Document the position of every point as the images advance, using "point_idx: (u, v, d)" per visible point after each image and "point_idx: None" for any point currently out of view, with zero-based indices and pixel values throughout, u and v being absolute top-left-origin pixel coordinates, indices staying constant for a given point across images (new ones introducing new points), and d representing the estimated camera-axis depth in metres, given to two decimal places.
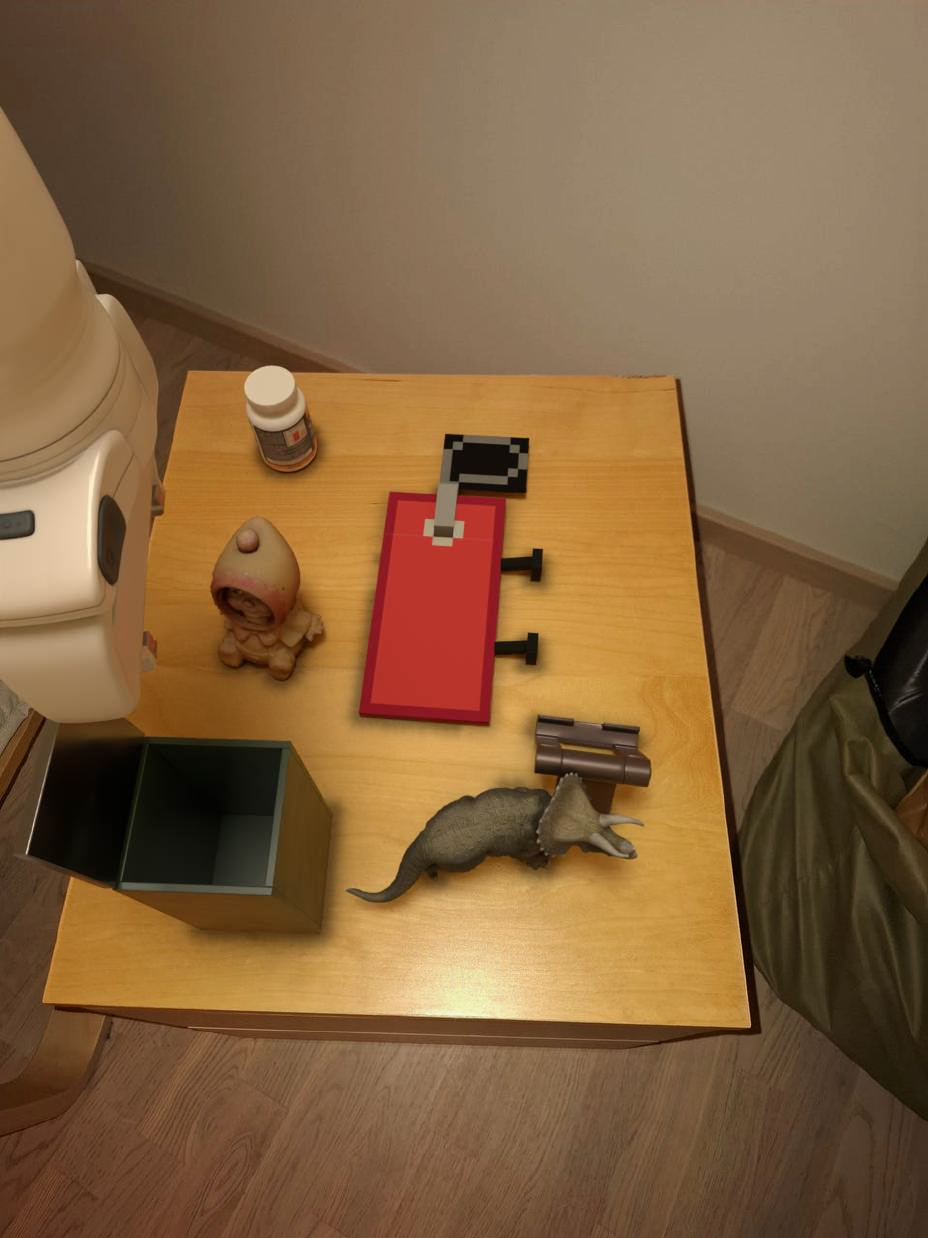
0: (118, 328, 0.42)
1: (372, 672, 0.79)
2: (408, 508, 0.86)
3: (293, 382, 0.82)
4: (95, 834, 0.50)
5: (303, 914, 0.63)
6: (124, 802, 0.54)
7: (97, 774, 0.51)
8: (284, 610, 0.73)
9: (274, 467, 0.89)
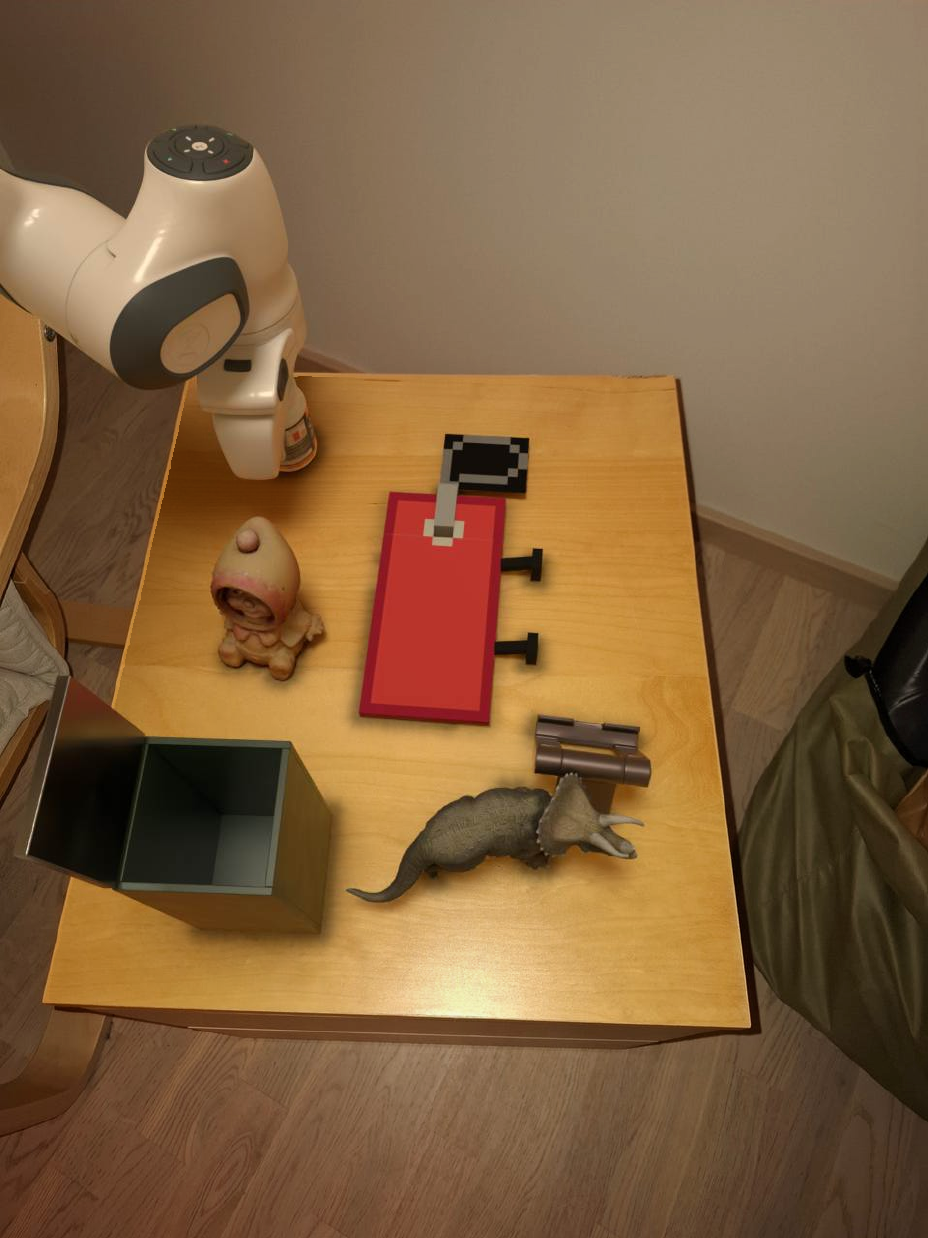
0: None
1: (372, 672, 0.79)
2: (408, 509, 0.86)
3: (293, 382, 0.82)
4: (95, 834, 0.50)
5: (303, 914, 0.63)
6: (124, 802, 0.54)
7: (97, 774, 0.51)
8: (284, 610, 0.73)
9: None
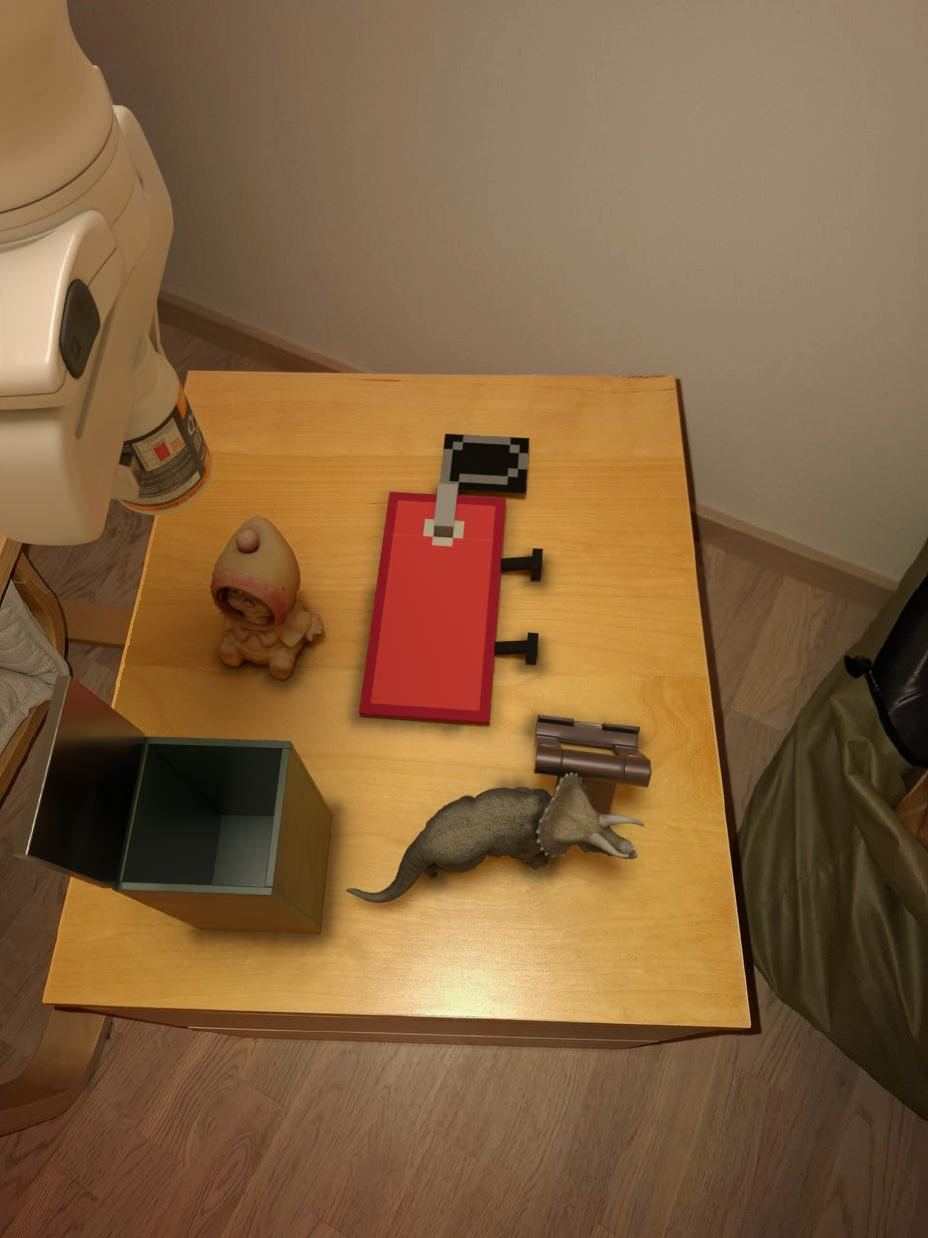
0: (130, 142, 0.40)
1: (372, 672, 0.79)
2: (408, 509, 0.86)
3: (146, 346, 0.41)
4: (95, 834, 0.50)
5: (303, 914, 0.63)
6: (124, 802, 0.54)
7: (97, 774, 0.51)
8: (284, 610, 0.73)
9: (131, 507, 0.48)
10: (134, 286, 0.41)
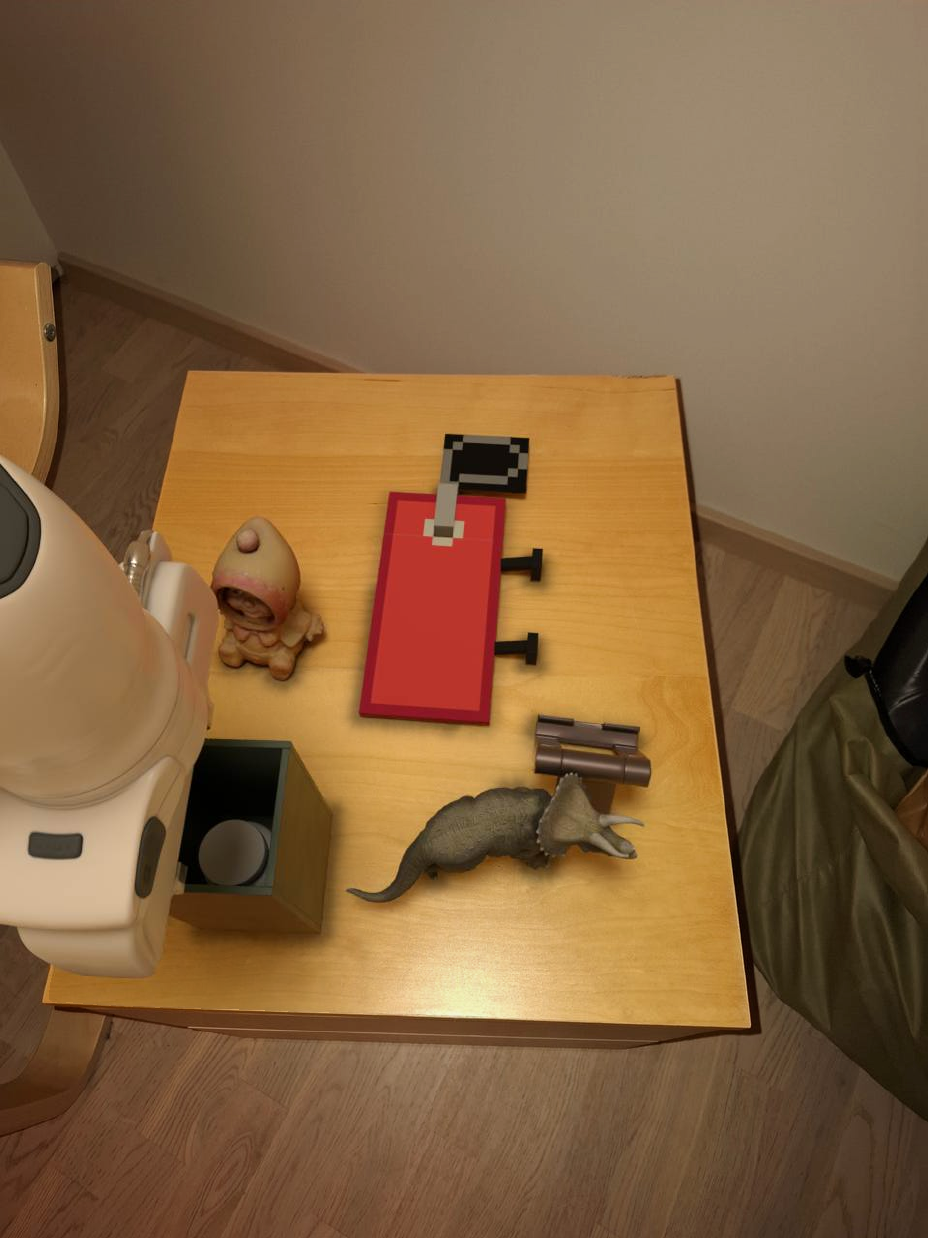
0: (185, 597, 0.45)
1: (372, 672, 0.79)
2: (408, 509, 0.86)
3: (262, 851, 0.63)
4: None
5: (303, 914, 0.63)
6: None
7: None
8: (284, 610, 0.73)
9: None
10: None
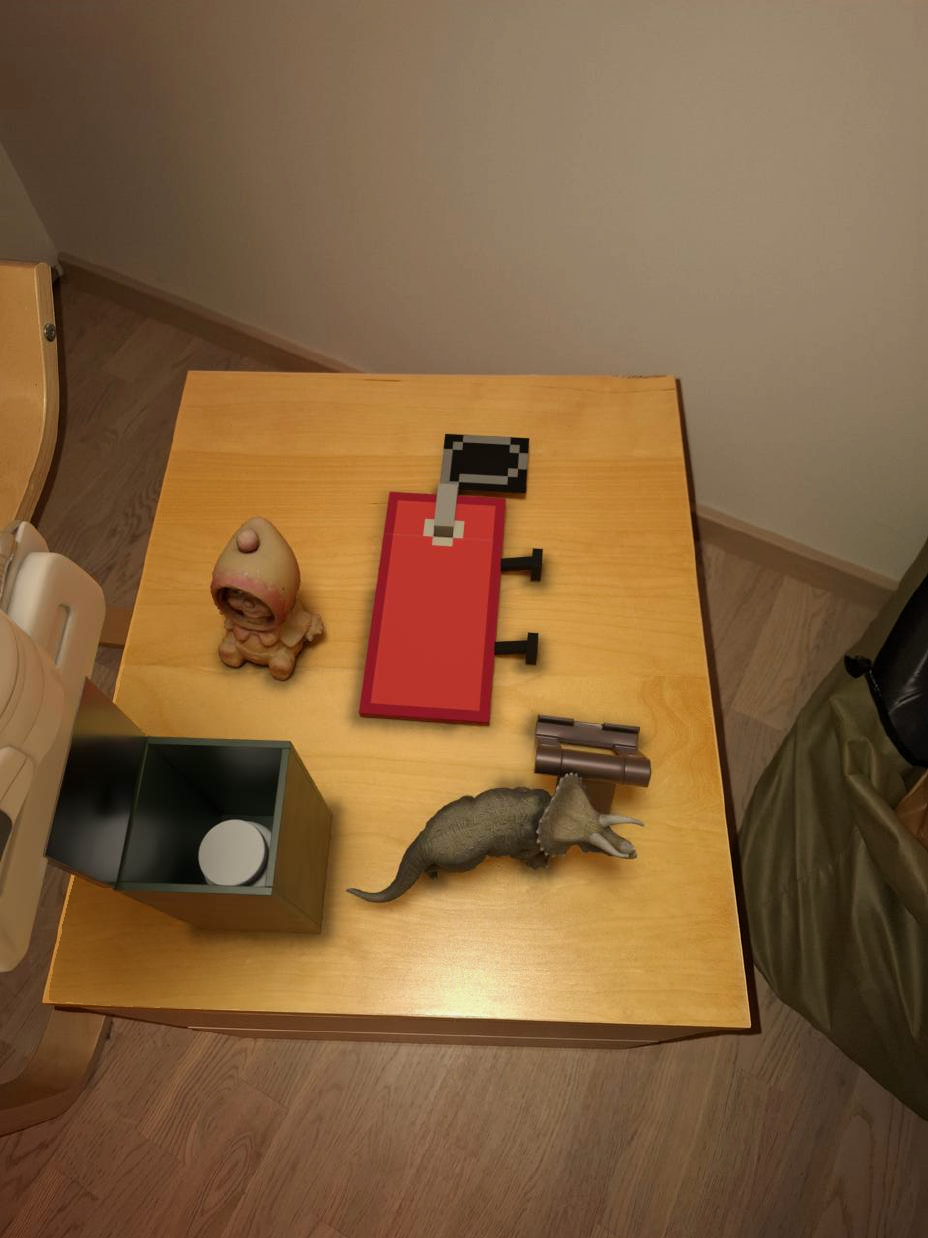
0: (55, 588, 0.44)
1: (372, 672, 0.79)
2: (408, 508, 0.86)
3: (262, 851, 0.63)
4: (101, 834, 0.50)
5: (303, 914, 0.63)
6: (126, 802, 0.54)
7: (104, 774, 0.51)
8: (284, 610, 0.73)
9: None
10: None
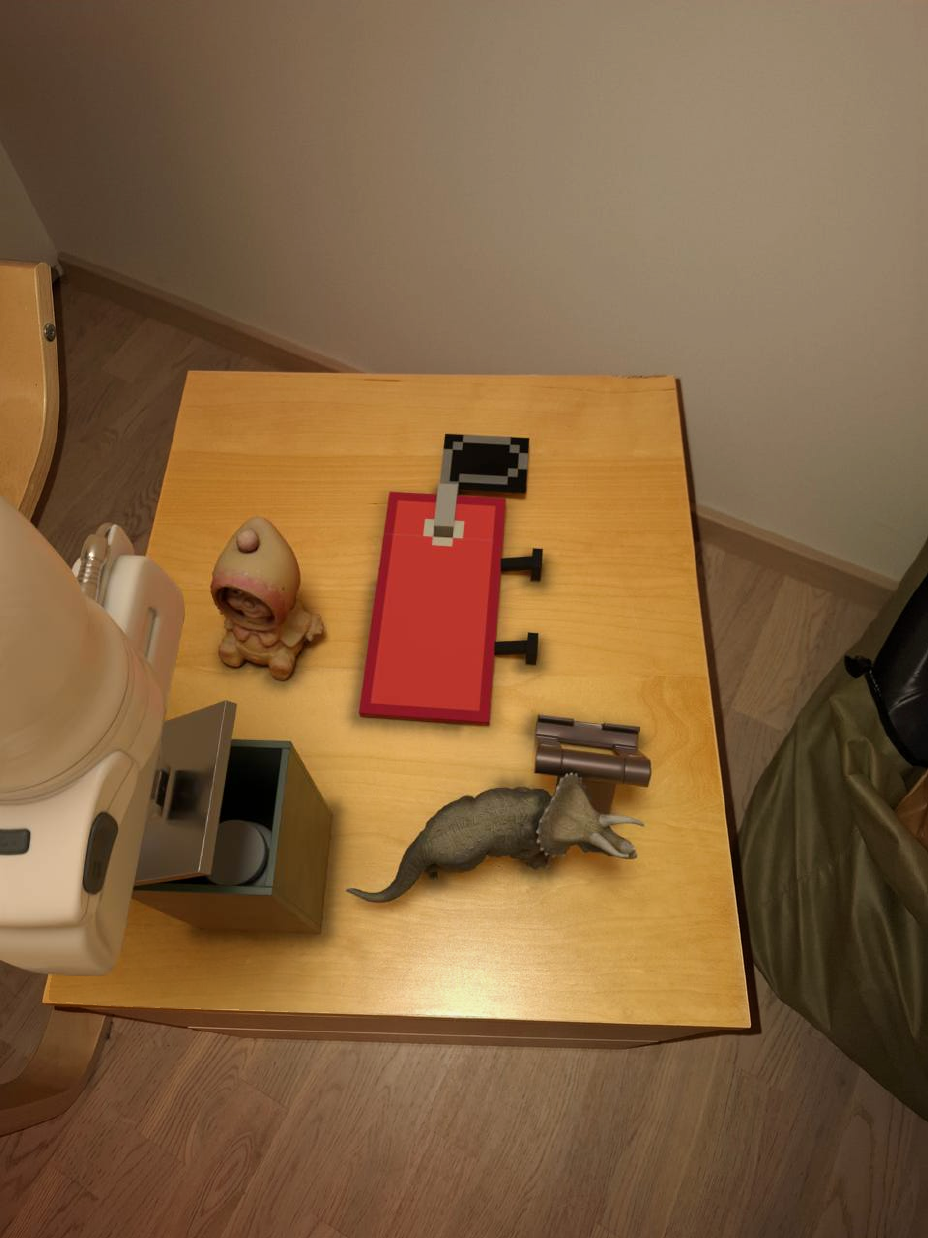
0: (145, 591, 0.44)
1: (372, 672, 0.79)
2: (408, 509, 0.86)
3: (262, 851, 0.63)
4: None
5: (303, 914, 0.63)
6: None
7: None
8: (284, 610, 0.73)
9: None
10: None
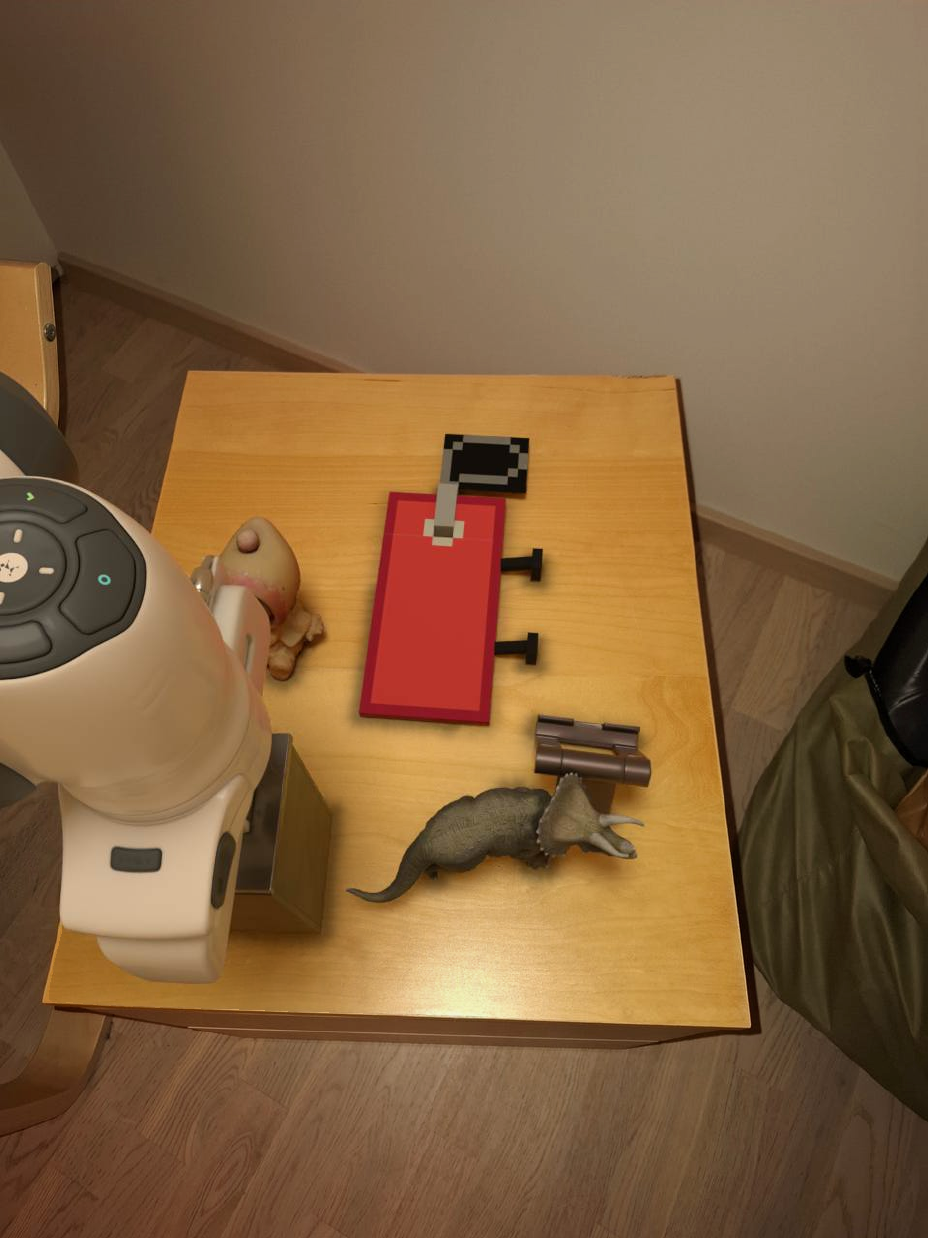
0: (245, 620, 0.47)
1: (372, 672, 0.79)
2: (408, 509, 0.86)
3: None
4: None
5: (303, 914, 0.63)
6: None
7: None
8: (284, 610, 0.73)
9: None
10: None
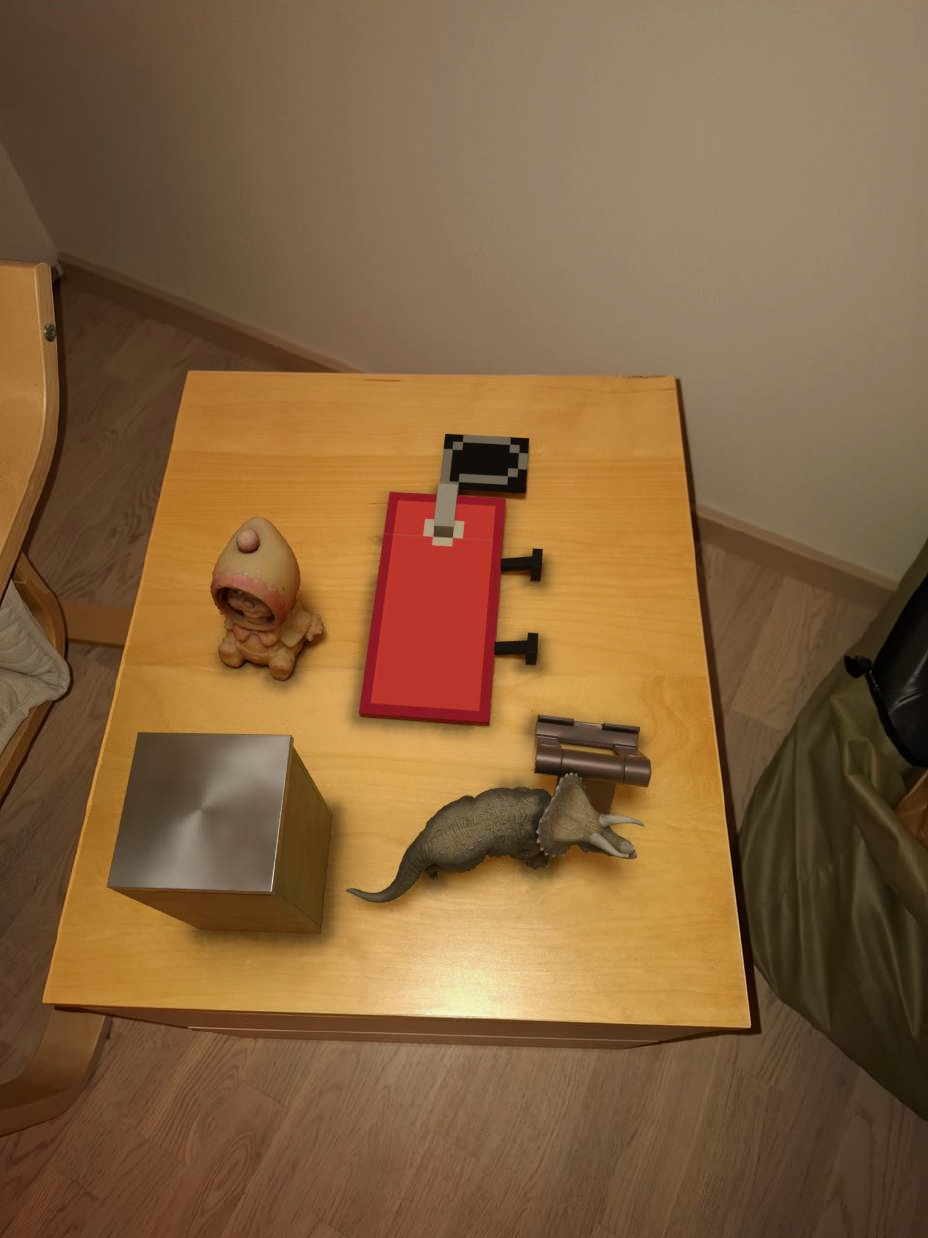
0: None
1: (372, 672, 0.79)
2: (408, 509, 0.86)
3: None
4: None
5: (303, 914, 0.63)
6: None
7: None
8: (284, 610, 0.73)
9: None
10: None
